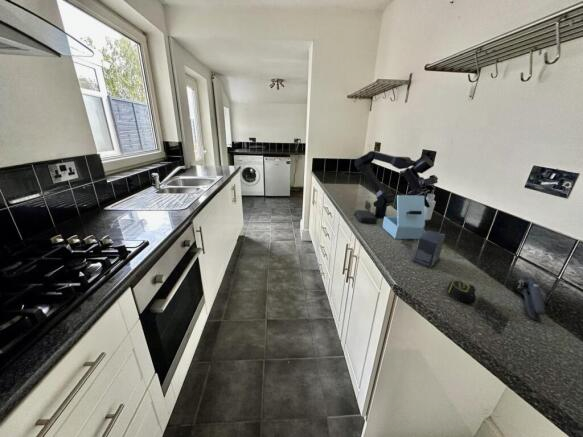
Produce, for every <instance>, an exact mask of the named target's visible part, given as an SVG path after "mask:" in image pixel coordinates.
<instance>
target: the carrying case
mask: <svg viewBox="0 0 583 437" xmlns="http://www.w3.org/2000/svg"><path fill="white" fill-rule="evenodd" d="M353 213H354V215H355V217H356V218H357V219H358V221H359V222H360V223H363V224H376V223H377V222H378V218H376V217H375V216H374V214H373V212H372V211H370V210H364V209H362V210H361V209H356V210H355V211H354V212H353Z"/></svg>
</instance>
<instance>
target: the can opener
mask: <svg viewBox="0 0 583 437" xmlns="http://www.w3.org/2000/svg"><path fill="white" fill-rule="evenodd" d="M517 283H519V284H518V285H517V286H516V287H515V290H516V291H517V292H518V293H519V294H521V295H522V296H523V297H524V305H525V309H526V312H527V315H528V317H529V318H530V319H531V320H533V321H536V322H537V321H540V316H545V315H546V307H545V304H546V302H547V293H546V291H545V290H544V289H543V288H541V287H540V286H539V285H538V283H537V281H536V278H534V277H532V276H526V277H525V278H523V279H521V278H520V279H519V280H518V282H517Z"/></svg>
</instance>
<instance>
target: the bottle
mask: <svg viewBox="0 0 583 437" xmlns="http://www.w3.org/2000/svg"><path fill="white" fill-rule="evenodd" d="M435 197H436V195H435V194H434V193H432V194H427V198H426V199H427V201H428V203H429V205H430V207H428V208H427V207H426V206H424V208H425V221H430V220H432V216H433V212H434V209H435V207H436V206H435V205H436V203H437V202H436V200H435Z"/></svg>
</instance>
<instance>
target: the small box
mask: <svg viewBox="0 0 583 437" xmlns="http://www.w3.org/2000/svg"><path fill="white" fill-rule="evenodd" d="M446 236H447V235H446V234H444V233H442V232H438V231H434V230H429V229H428V230H427V231H426V232H425V233H422V236H421V237H420V238H419V239H418V243H417V246H416V251H415V254H414V258H413V262H414V263H417V264H419V265H421V266H424V267H426V268H430V269H431V268H433V266H434V265H435V264H436V263H437V261H438V260H439V259H440V255H441V252H442V248H443V246H444V242H445V239H446Z"/></svg>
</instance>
